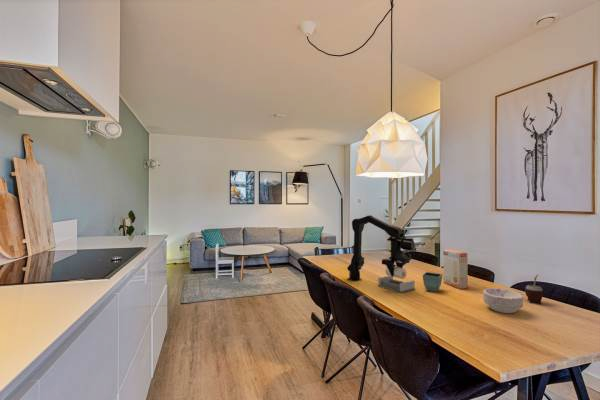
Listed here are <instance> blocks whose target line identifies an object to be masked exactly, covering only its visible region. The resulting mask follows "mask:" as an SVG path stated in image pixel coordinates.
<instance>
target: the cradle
mask: <svg viewBox="0 0 600 400" xmlns="http://www.w3.org/2000/svg"><path fill="white" fill-rule="evenodd" d="M377 279H378V280H377V283H378V284H377V285H378V287H380V288H383V289H387V290H390V291H393V292H397V293H400V294H403V293H406V292H409V291H414V290H415V288H416V287H415V285H416V284H415V280H414V279H412V280H409V281H405V282H404V281H401V280H399V279H398V280H396V279H394V277H393V276H389V275H385V276H381V277H378V278H377Z"/></svg>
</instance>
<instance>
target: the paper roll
mask: <svg viewBox="0 0 600 400" xmlns="http://www.w3.org/2000/svg"><path fill="white" fill-rule="evenodd" d="M385 274H386V276H388V275H389V276H391V274H390V272H389V270H388V268H387V267H385ZM406 277H407V270H406V268H404V267H403V268H400V267H397V266H395V267H394V275H393V278H396V279H397V278H398V279H402V280H403V279H405V278H406Z"/></svg>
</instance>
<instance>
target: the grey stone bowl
mask: <svg viewBox="0 0 600 400" xmlns="http://www.w3.org/2000/svg"><path fill="white" fill-rule="evenodd" d="M482 294H483V296H482V297H483V298H482V300H483V302H484V303H485V304H486V305H488V307H489V309H491V310H493V311H495V312H498V313H504V314H513V313H516V312H518V310H519V309H522V308H523V307H524V303H523V302H524V301H523V300H524V296H523V295H522V294H521V293H519V292H517V291H514V290H513V291H512V290H509V289H504V288H496V287H495V288H493V287H492V288H485V289H483V292H482Z"/></svg>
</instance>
